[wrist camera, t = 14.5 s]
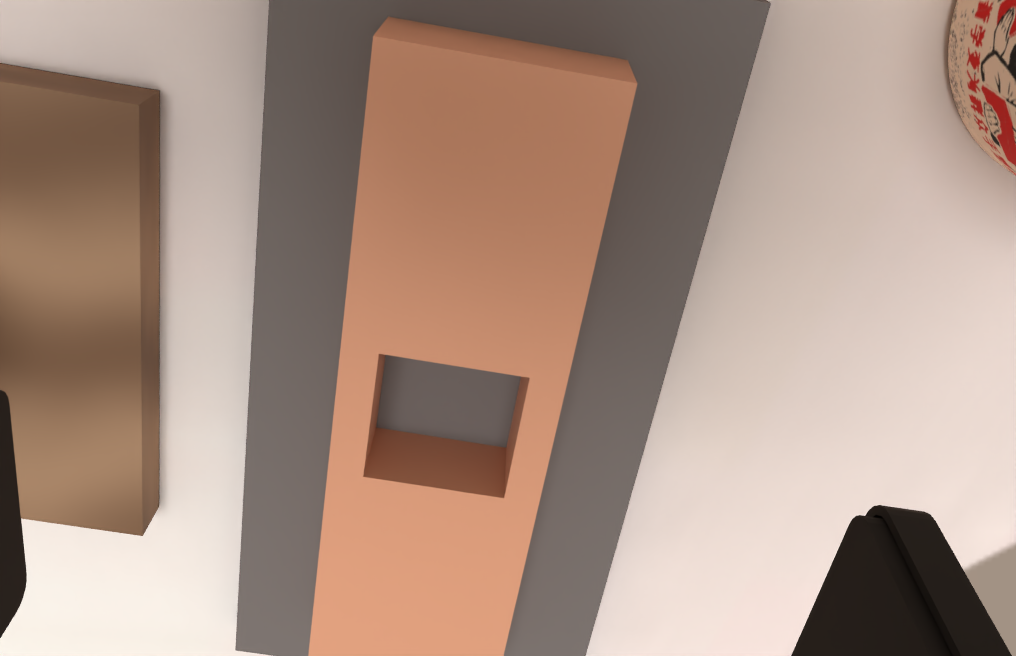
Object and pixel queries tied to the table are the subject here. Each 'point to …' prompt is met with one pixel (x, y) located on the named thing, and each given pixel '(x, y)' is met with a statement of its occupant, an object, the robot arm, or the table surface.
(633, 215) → the mat
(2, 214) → the stand
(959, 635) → the robot arm
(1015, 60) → the teacup with lid
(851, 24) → the table surface
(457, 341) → the link
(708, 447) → the table surface
